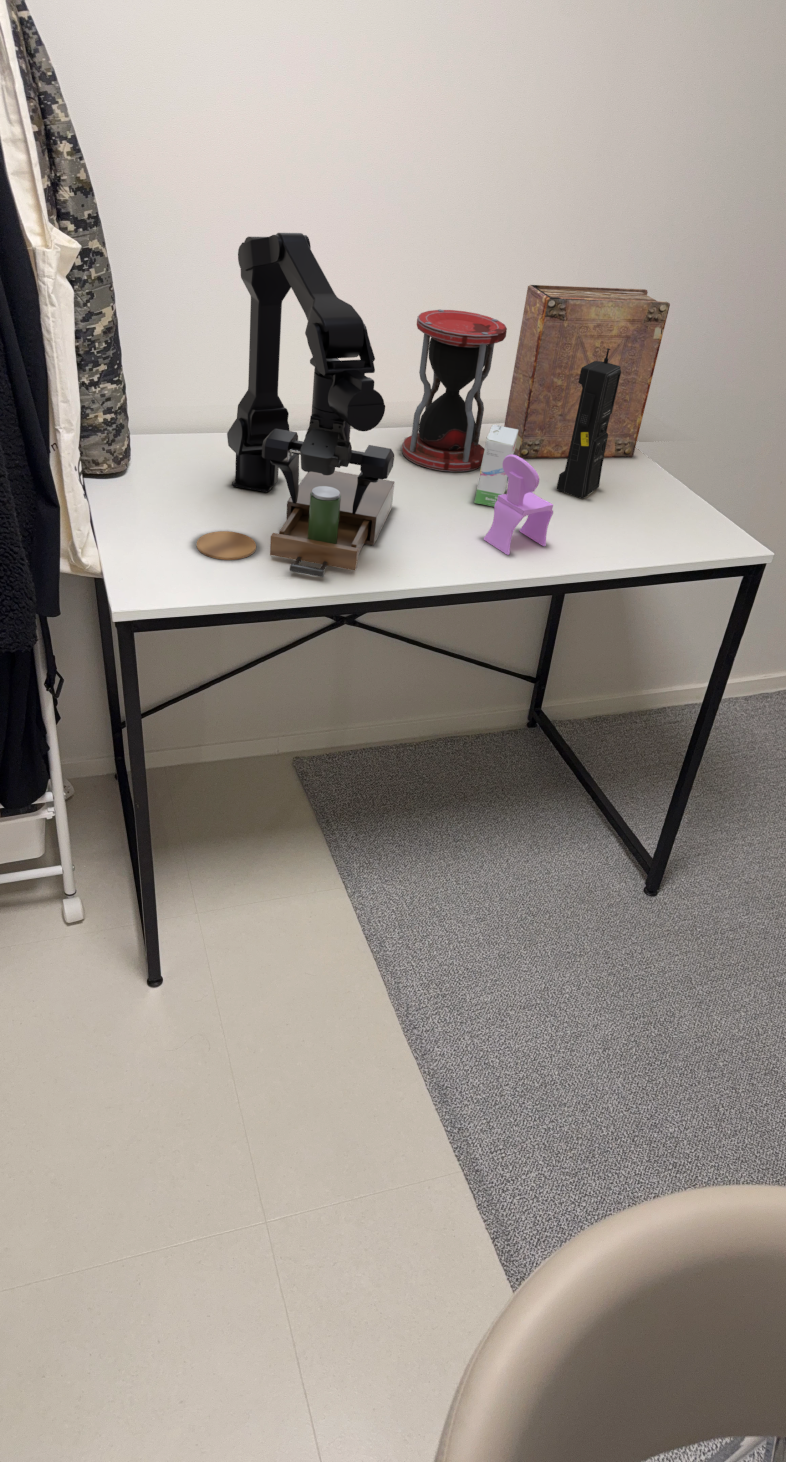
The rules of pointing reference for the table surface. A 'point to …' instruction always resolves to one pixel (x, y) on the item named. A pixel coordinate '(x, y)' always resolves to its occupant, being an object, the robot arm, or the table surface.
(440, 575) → the table surface
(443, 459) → the hourglass
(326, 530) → the can
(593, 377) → the portable radio
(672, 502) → the table surface
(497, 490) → the ink box
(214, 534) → the coaster
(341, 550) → the drawer
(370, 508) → the cabinet
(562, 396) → the book
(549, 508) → the toy chair
